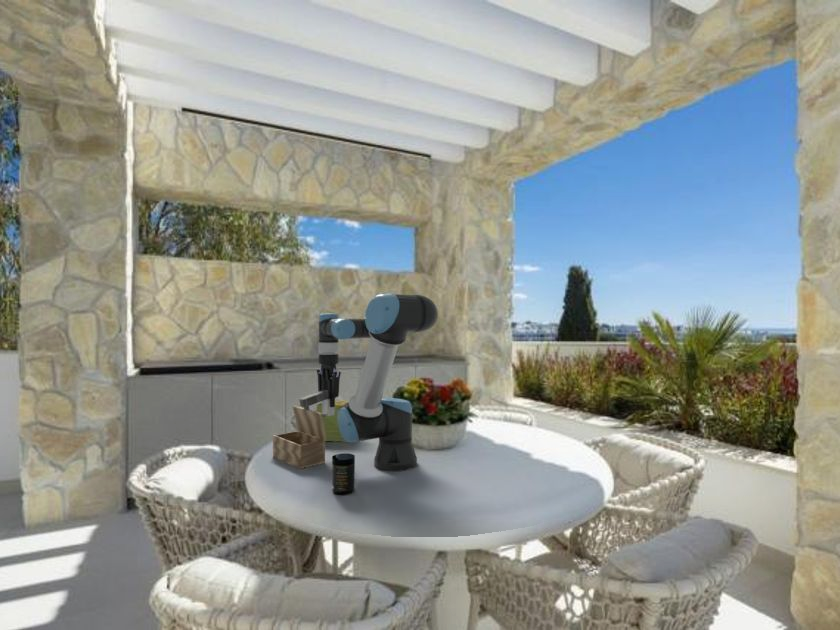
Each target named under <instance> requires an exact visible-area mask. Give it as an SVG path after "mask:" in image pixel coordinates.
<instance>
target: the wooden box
mask: <svg viewBox="0 0 840 630" xmlns="http://www.w3.org/2000/svg"><path fill="white" fill-rule="evenodd" d="M272 457H273V458H274V459H277V460H280V461H281V462H284V463H286V464H287V465H290V466H292V467H294V466H295V468H296V467H297V469H299V470H301V469H300V468H302V469H305V468H304V467H306V468H309V467H308V466H310V467H313V466H312V465H314V466H317V465H316V464H318V465H321V464H320V463H323V464H325V463H326V442H325V440H322V439H319V438H316V437H314V436H311V435H308V434H305V433H302V432H299V431H297V430H295V431H290V432H285V433H280V434H273V435H272ZM324 462H325V463H324Z"/></svg>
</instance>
